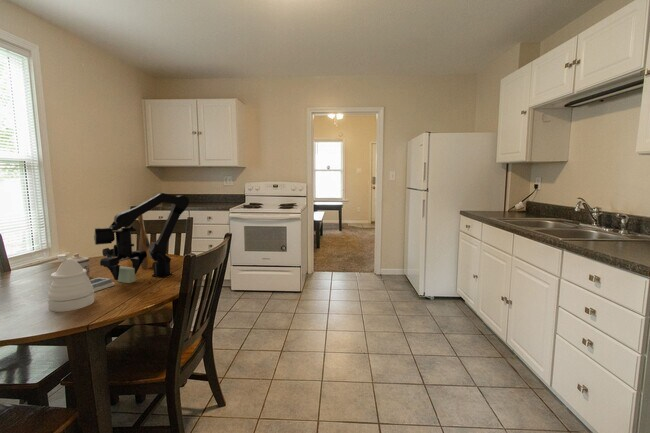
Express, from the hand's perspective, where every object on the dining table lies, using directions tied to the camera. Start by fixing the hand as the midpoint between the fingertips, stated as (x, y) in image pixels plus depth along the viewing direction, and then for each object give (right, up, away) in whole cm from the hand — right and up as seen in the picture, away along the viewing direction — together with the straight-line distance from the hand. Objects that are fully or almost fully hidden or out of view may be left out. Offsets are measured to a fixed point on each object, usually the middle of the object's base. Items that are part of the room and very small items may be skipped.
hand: (125, 277), depth 142 cm
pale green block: (0, -2, 0) cm, 2 cm away
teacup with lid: (-23, -1, +3) cm, 23 cm away
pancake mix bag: (-6, +1, +26) cm, 27 cm away
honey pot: (-3, -5, -27) cm, 27 cm away
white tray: (-8, -3, -9) cm, 13 cm away
